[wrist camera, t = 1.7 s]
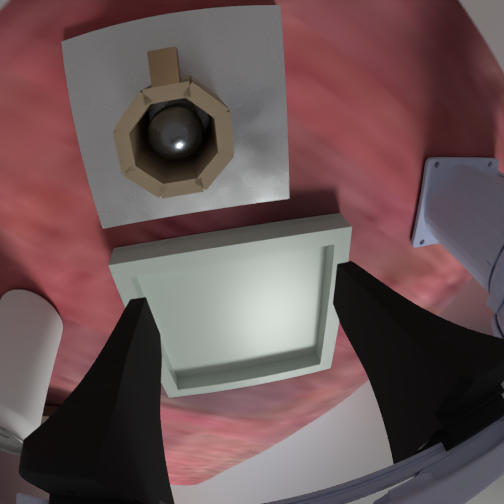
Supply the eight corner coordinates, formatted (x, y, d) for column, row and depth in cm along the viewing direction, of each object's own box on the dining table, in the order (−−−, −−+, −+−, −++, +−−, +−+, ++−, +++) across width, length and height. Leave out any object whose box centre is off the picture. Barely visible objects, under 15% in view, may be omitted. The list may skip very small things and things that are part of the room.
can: (-11, 298, 21) (-60, 412, 11) (32, 275, 20) (-22, 408, 11) (32, 346, 24) (4, 456, 15) (78, 330, 24) (54, 458, 14)
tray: (340, 212, 22) (352, 226, 21) (324, 353, 31) (330, 368, 30) (113, 248, 21) (108, 265, 19) (168, 380, 30) (169, 397, 28)
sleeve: (212, 48, 14) (223, 40, 9) (222, 147, 18) (237, 186, 13) (130, 62, 14) (101, 62, 9) (146, 160, 17) (129, 204, 12)
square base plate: (276, 7, 14) (316, -14, 9) (286, 193, 21) (319, 244, 16) (66, 42, 13) (15, 39, 8) (105, 223, 19) (81, 282, 14)
